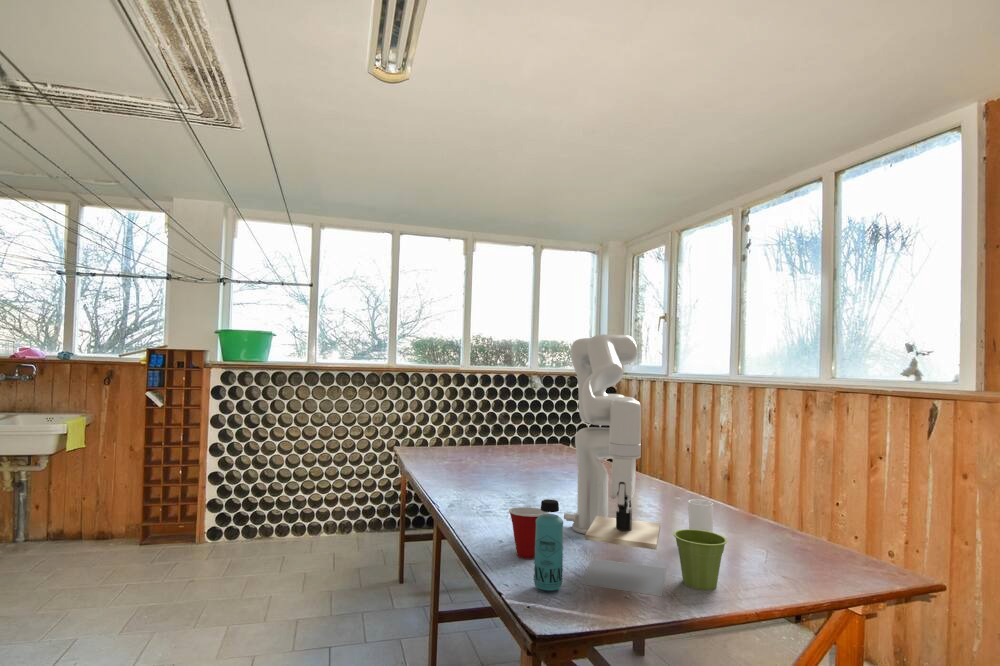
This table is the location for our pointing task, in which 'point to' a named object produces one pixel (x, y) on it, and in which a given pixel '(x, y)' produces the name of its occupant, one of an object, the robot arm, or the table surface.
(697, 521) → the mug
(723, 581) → the table surface
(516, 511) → the plastic cup
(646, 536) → the lid
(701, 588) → the plant pot
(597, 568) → the mat
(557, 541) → the beverage bottle
